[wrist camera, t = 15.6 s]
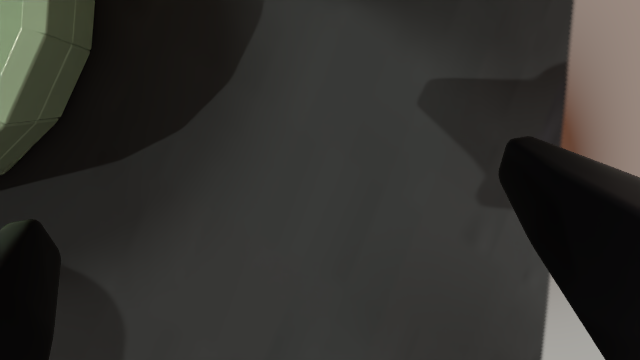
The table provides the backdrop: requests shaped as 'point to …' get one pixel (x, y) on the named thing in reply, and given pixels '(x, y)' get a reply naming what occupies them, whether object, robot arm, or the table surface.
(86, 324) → the table surface
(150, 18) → the table surface
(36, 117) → the big bowl
